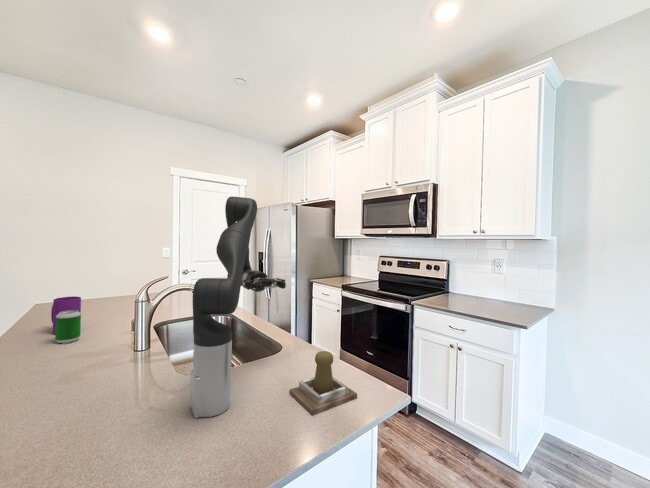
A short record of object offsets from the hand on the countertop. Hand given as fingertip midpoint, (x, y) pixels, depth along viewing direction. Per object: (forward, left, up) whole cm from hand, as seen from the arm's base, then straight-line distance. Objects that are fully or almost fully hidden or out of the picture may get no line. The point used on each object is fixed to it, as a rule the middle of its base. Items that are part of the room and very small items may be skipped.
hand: (272, 286), depth 96 cm
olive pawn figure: (+6, -23, -27) cm, 36 cm away
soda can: (-59, +66, -28) cm, 93 cm away
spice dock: (+5, -23, -28) cm, 37 cm away
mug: (-63, +84, -28) cm, 109 cm away
